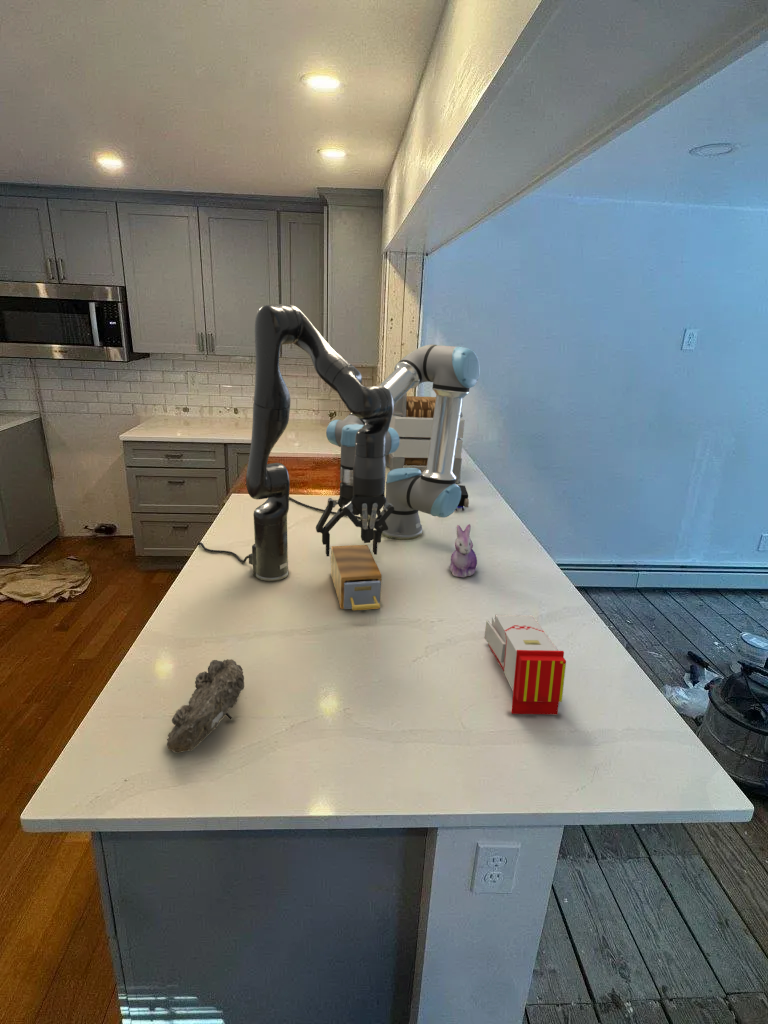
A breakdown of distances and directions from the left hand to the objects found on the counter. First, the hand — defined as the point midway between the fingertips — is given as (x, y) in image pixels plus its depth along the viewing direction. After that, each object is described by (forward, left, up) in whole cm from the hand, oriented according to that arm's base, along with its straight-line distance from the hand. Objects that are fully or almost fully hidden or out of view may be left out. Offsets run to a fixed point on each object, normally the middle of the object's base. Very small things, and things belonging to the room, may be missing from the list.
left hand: (366, 541), depth 138 cm
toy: (+39, -11, -21) cm, 46 cm away
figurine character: (+8, +96, -21) cm, 98 cm away
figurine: (+20, +36, -21) cm, 46 cm away
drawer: (-5, +8, -20) cm, 22 cm away
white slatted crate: (-18, +138, -21) cm, 141 cm away
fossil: (-15, -45, -21) cm, 52 cm away
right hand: (-10, +18, -12) cm, 24 cm away
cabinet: (-7, +13, -21) cm, 26 cm away
